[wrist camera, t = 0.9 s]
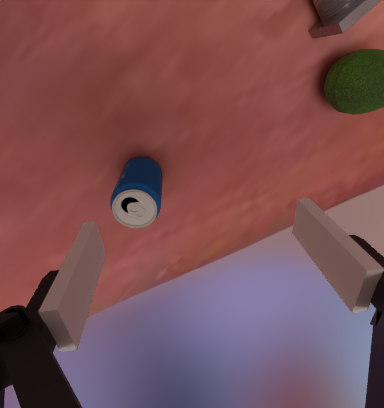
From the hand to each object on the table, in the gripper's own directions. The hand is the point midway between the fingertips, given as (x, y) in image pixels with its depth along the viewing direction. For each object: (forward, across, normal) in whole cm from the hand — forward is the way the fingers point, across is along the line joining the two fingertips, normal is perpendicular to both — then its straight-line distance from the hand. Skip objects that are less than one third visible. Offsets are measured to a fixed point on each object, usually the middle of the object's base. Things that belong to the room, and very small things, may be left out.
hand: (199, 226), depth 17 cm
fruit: (+26, +24, +5) cm, 36 cm away
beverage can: (+27, -7, -6) cm, 28 cm away
